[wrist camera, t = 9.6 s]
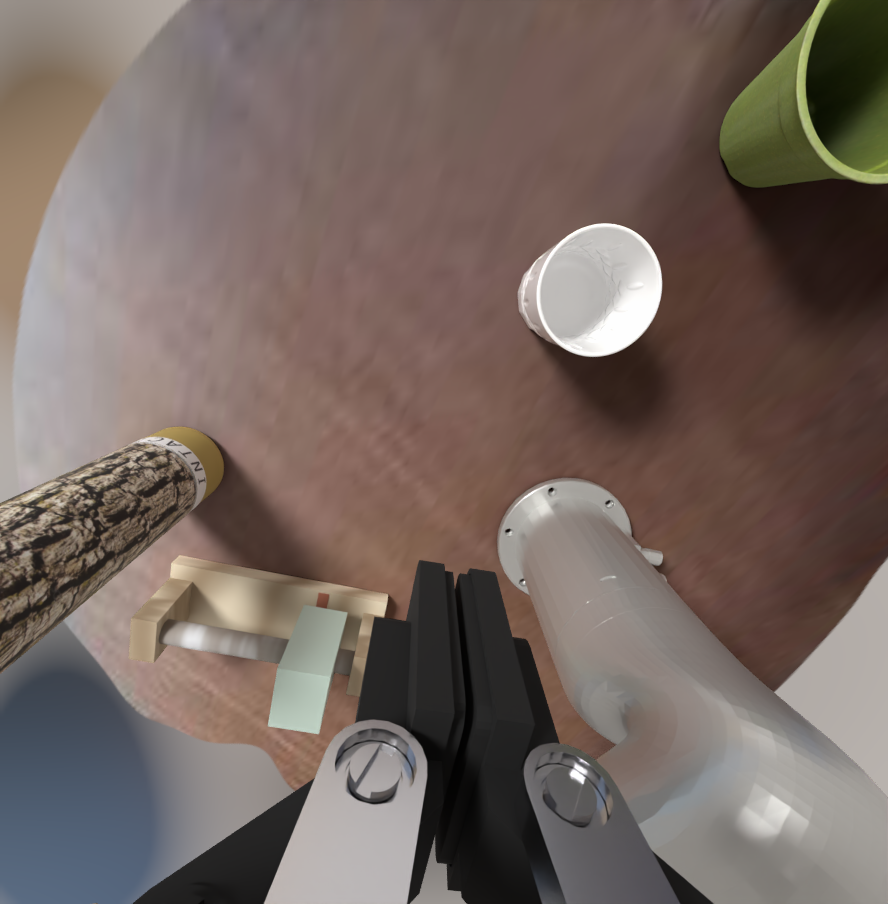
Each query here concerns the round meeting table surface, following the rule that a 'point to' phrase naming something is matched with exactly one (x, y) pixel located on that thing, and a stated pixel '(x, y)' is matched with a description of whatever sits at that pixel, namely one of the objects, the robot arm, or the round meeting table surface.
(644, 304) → the white cup
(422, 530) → the round meeting table surface
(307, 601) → the rod stand
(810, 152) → the plant pot
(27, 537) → the paper tube
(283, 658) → the collar
